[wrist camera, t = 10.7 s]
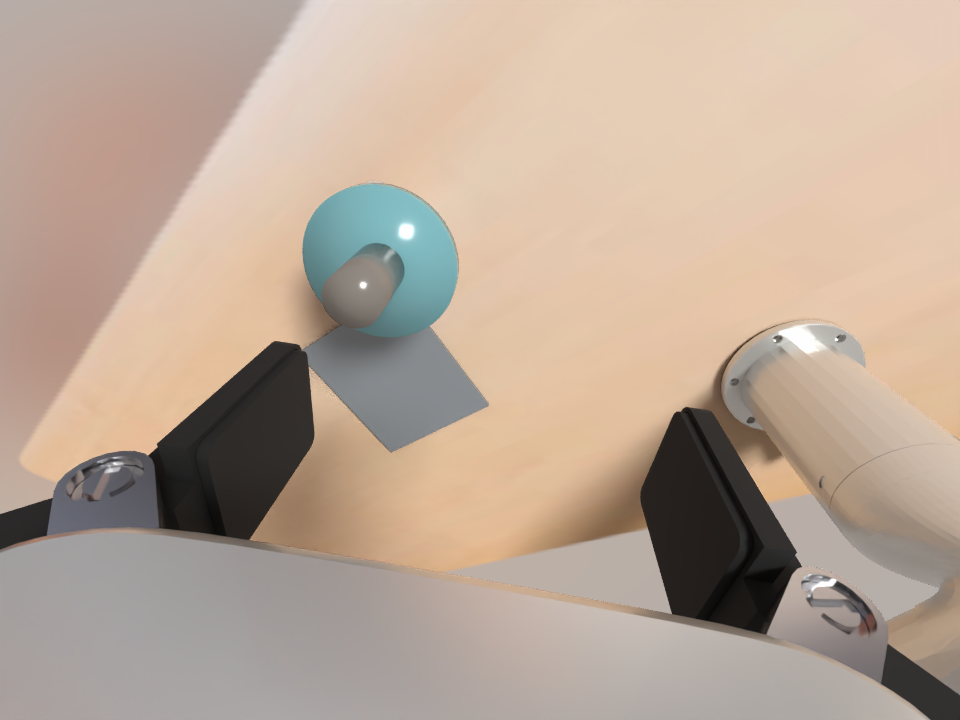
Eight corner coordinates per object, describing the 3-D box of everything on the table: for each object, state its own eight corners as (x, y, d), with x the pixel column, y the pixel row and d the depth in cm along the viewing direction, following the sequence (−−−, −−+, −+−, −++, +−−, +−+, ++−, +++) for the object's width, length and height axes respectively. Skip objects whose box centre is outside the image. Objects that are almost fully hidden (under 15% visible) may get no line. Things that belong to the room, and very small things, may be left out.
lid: (487, 286, 32) (480, 329, 26) (375, 352, 36) (345, 404, 30) (395, 147, 28) (359, 159, 22) (278, 239, 32) (219, 271, 25)
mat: (488, 403, 48) (488, 405, 48) (391, 450, 53) (391, 452, 53) (400, 287, 42) (399, 289, 42) (299, 351, 47) (297, 353, 47)
